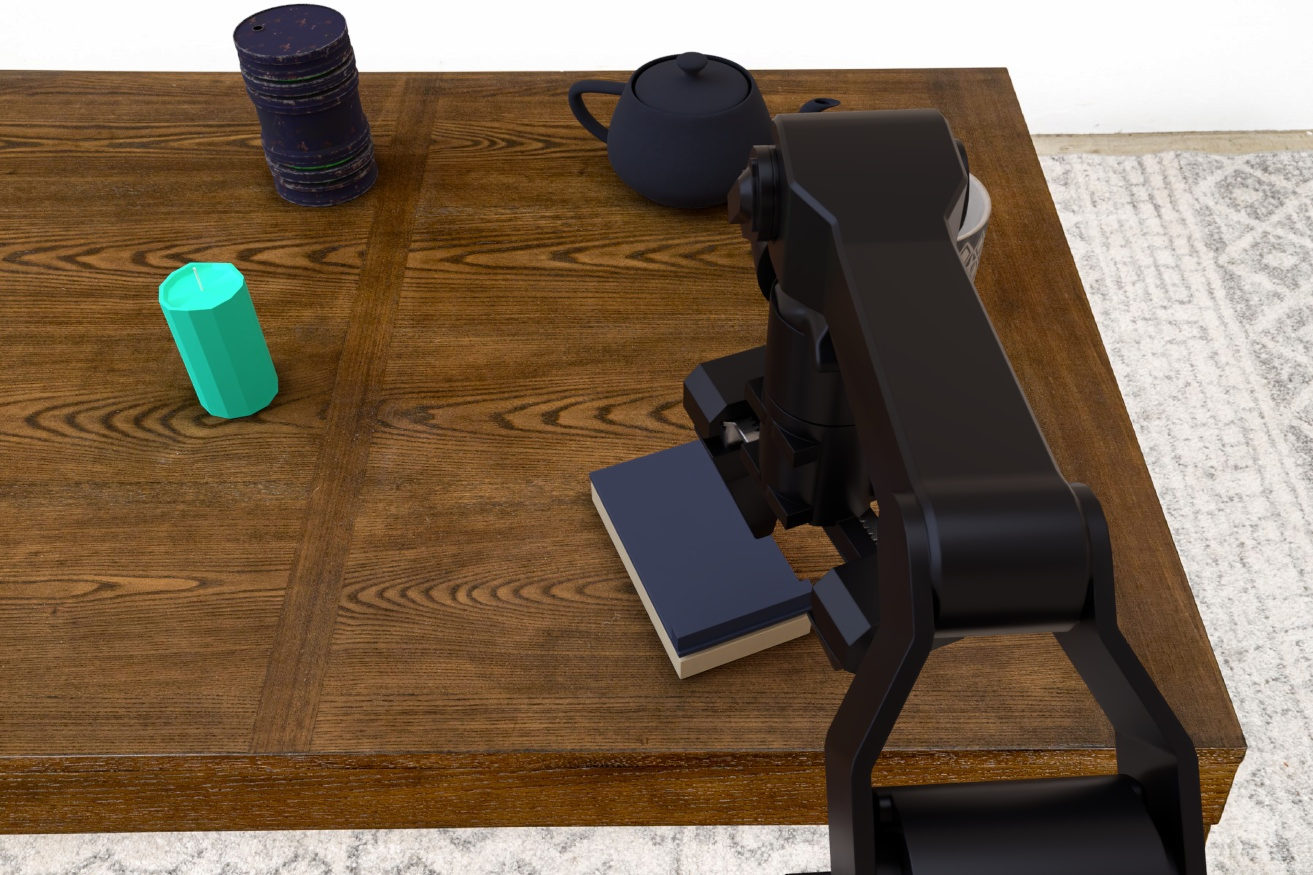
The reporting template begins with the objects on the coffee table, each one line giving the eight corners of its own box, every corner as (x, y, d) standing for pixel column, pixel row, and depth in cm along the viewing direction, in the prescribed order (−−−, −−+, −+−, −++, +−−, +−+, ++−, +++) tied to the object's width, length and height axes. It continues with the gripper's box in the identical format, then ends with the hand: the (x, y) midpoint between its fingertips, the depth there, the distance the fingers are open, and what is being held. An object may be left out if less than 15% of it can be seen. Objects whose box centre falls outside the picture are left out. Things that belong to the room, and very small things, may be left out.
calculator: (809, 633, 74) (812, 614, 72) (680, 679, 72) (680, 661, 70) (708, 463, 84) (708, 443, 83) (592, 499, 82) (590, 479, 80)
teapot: (548, 205, 107) (537, 85, 98) (596, 119, 117) (590, 3, 109) (816, 245, 102) (830, 122, 94) (842, 151, 113) (856, 33, 104)
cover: (814, 610, 72) (817, 592, 71) (679, 658, 70) (679, 641, 69) (710, 440, 83) (710, 421, 81) (589, 477, 80) (587, 458, 79)
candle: (268, 418, 88) (224, 295, 79) (190, 418, 88) (137, 295, 79) (287, 365, 92) (247, 242, 83) (212, 365, 92) (164, 242, 84)
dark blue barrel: (390, 151, 114) (361, 5, 103) (364, 209, 107) (330, 59, 96) (291, 147, 114) (252, 1, 104) (259, 205, 107) (213, 55, 97)
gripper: (1121, 474, 46) (1033, 688, 57) (883, 221, 58) (849, 438, 69) (875, 559, 43) (833, 766, 54) (679, 275, 55) (678, 492, 66)
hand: (800, 597), depth 61 cm, fingers open, 9 cm apart
